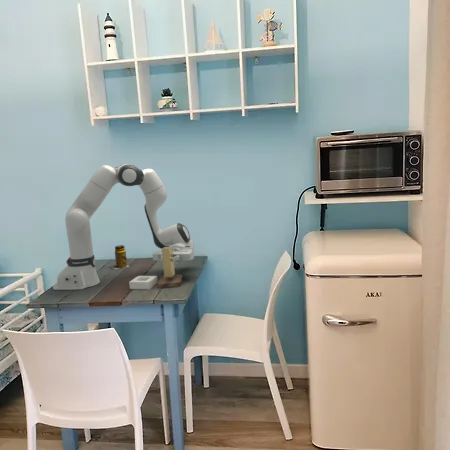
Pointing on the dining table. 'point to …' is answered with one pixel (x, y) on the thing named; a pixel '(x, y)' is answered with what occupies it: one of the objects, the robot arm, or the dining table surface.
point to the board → (169, 281)
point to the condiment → (120, 257)
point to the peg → (168, 262)
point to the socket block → (143, 282)
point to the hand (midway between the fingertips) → (167, 259)
